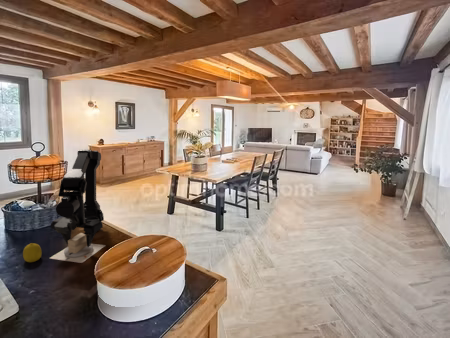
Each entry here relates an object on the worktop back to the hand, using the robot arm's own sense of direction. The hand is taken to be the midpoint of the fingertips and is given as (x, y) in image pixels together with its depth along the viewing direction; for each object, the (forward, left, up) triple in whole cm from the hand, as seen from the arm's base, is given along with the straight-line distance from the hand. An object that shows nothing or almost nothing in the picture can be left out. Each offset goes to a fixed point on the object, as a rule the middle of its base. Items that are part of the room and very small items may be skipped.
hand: (78, 245), depth 102 cm
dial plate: (0, 0, -4) cm, 4 cm away
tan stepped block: (0, 0, -3) cm, 3 cm away
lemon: (+9, -12, -4) cm, 16 cm away
